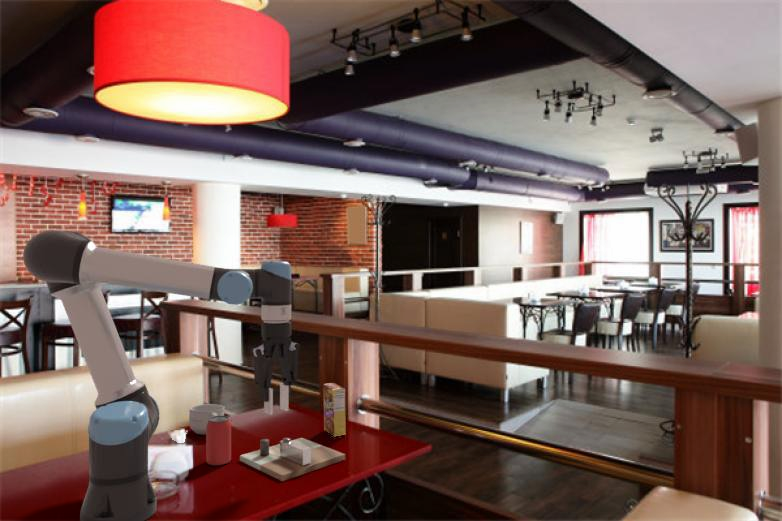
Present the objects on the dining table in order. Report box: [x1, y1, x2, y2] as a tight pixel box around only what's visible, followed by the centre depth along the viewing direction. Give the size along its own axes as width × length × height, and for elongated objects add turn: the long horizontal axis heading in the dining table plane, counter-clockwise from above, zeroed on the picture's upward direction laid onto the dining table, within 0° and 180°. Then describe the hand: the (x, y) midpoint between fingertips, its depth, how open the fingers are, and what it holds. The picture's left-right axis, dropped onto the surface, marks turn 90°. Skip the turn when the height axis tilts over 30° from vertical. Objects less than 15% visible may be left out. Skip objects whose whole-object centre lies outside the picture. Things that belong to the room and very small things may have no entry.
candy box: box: [323, 382, 347, 438], centre depth 180 cm, size 9×4×15 cm, turn 28°
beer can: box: [205, 415, 232, 466], centre depth 155 cm, size 7×7×12 cm
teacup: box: [188, 403, 225, 435], centre depth 180 cm, size 14×11×8 cm
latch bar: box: [279, 437, 311, 465], centre depth 153 cm, size 10×3×5 cm, turn 46°
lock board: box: [239, 437, 346, 482], centre depth 157 cm, size 21×20×6 cm
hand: (276, 411), depth 146 cm, fingers open, 4 cm apart
